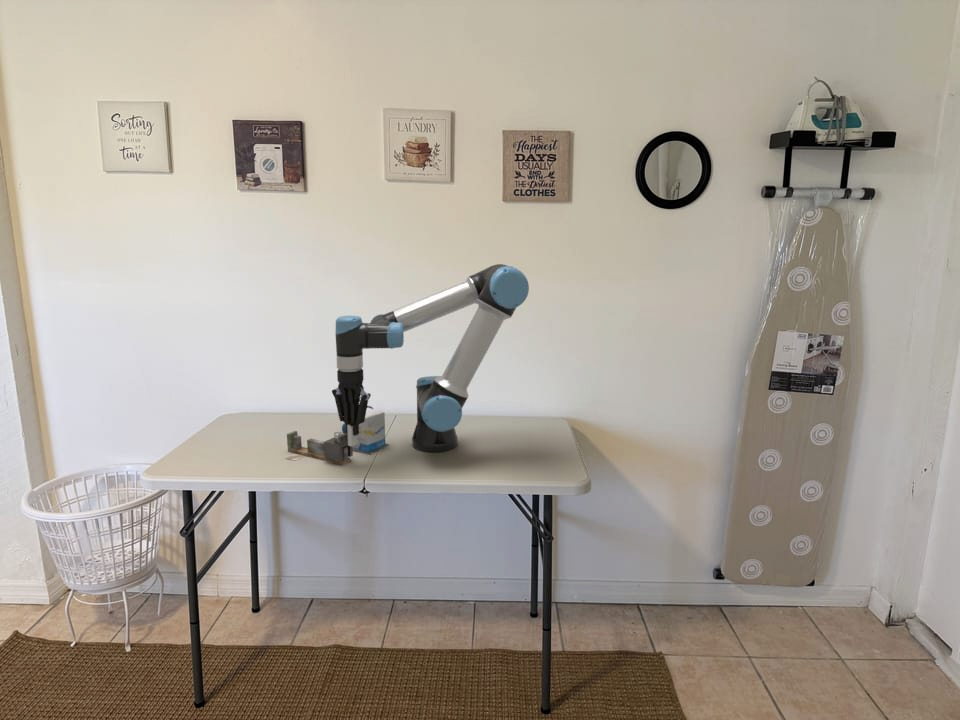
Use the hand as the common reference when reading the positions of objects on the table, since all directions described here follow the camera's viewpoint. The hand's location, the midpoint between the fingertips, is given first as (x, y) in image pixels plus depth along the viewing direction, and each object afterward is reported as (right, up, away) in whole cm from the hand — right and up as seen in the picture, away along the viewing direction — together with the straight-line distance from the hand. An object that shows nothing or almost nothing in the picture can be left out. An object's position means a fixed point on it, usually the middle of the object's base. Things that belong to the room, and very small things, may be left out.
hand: (352, 444), depth 185 cm
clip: (-5, -4, +4) cm, 8 cm away
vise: (-14, -5, +6) cm, 16 cm away
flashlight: (-5, +1, +36) cm, 36 cm away
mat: (+1, -3, +16) cm, 17 cm away
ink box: (+2, -3, +16) cm, 16 cm away
